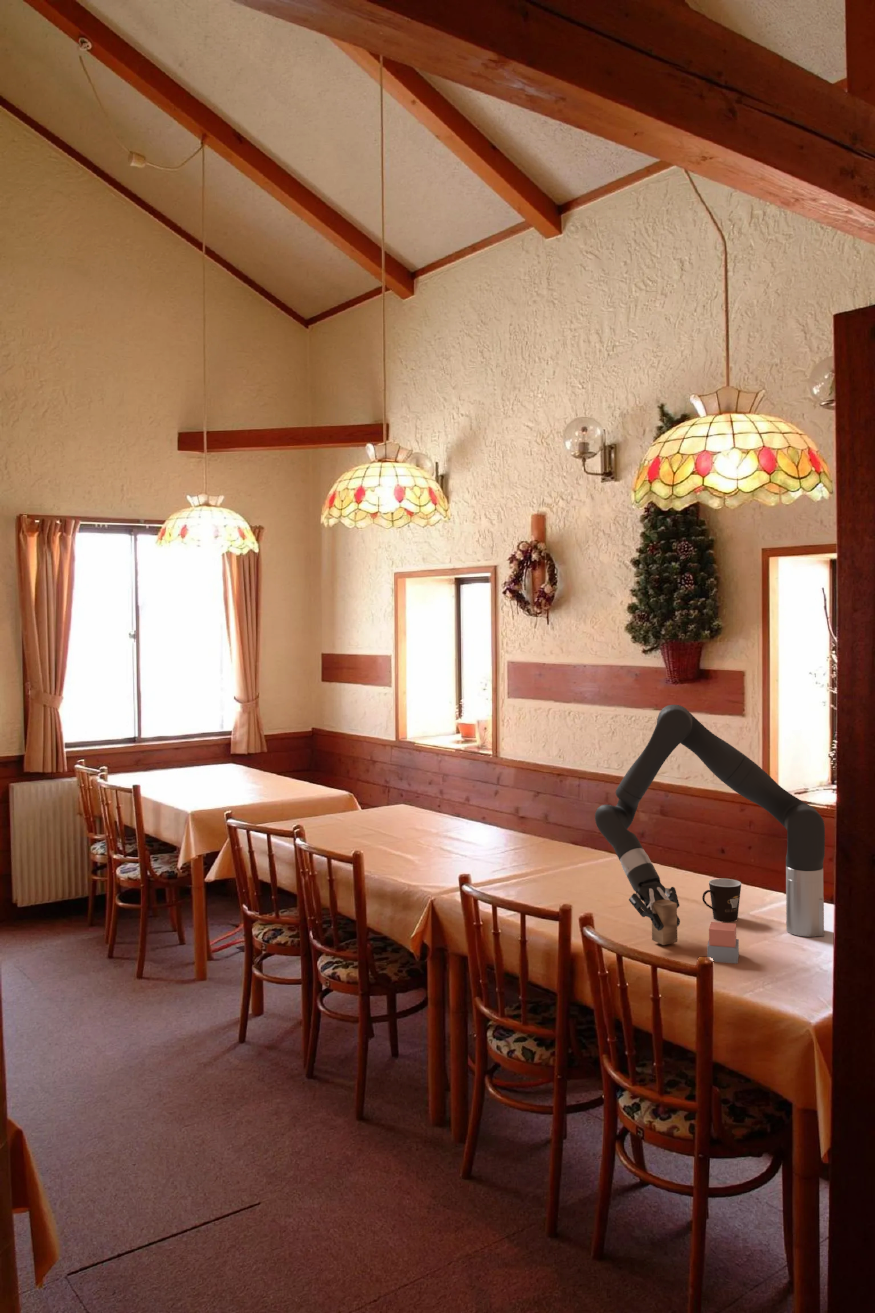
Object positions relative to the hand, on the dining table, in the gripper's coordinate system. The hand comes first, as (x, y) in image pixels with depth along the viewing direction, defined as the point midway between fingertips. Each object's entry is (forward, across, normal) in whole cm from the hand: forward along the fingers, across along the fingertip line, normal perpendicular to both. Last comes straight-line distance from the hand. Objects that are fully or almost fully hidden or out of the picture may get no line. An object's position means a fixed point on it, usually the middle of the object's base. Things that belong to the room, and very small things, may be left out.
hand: (669, 927), depth 257 cm
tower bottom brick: (+13, +6, -5) cm, 15 cm away
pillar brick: (+2, 0, +4) cm, 5 cm away
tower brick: (+10, +6, -8) cm, 14 cm away
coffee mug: (-5, +27, +12) cm, 30 cm away
